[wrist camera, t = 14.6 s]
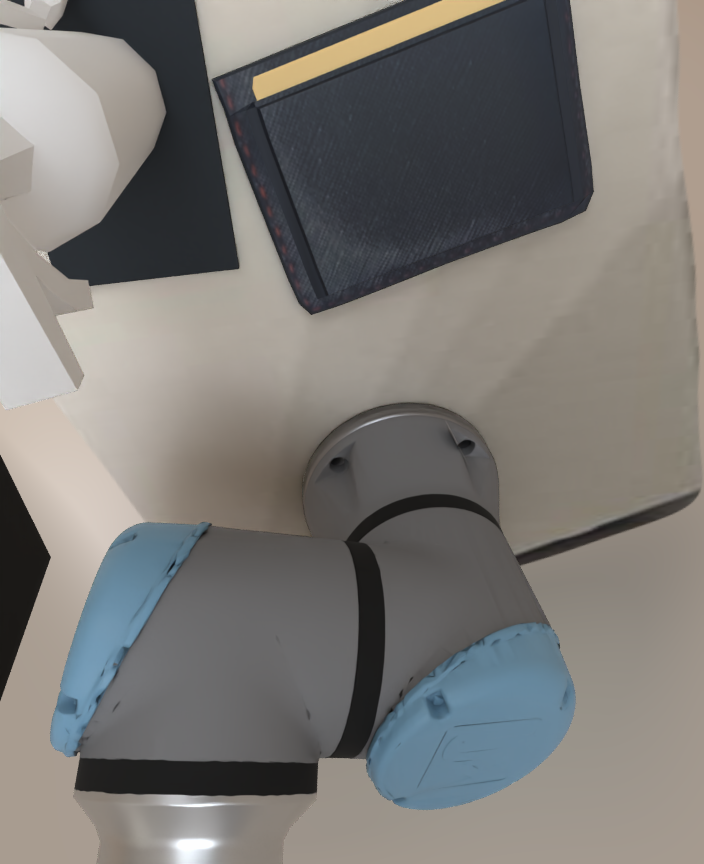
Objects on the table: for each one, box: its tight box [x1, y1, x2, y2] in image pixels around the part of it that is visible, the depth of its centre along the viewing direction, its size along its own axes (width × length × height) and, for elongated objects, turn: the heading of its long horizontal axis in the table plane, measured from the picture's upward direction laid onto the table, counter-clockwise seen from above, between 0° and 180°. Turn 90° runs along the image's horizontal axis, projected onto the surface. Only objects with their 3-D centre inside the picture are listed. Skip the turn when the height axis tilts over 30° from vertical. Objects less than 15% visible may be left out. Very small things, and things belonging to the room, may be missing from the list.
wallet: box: [212, 0, 594, 315], centre depth 39 cm, size 20×2×15 cm
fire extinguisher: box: [0, 0, 166, 410], centre depth 25 cm, size 7×12×25 cm, turn 11°
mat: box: [0, 0, 239, 286], centre depth 36 cm, size 22×11×1 cm, turn 4°
